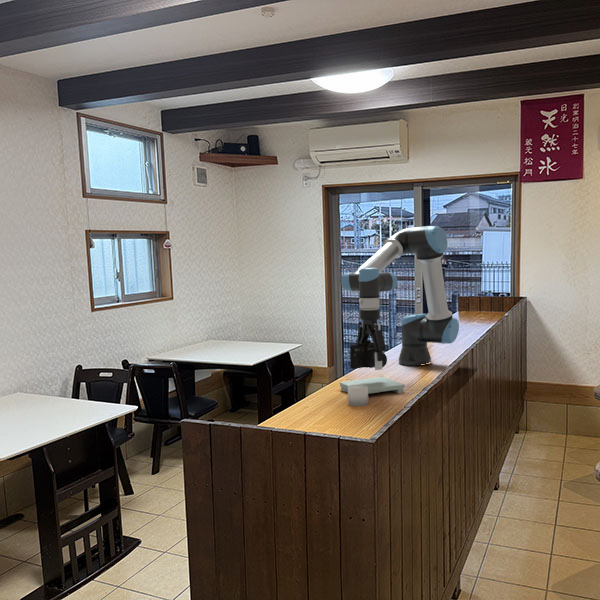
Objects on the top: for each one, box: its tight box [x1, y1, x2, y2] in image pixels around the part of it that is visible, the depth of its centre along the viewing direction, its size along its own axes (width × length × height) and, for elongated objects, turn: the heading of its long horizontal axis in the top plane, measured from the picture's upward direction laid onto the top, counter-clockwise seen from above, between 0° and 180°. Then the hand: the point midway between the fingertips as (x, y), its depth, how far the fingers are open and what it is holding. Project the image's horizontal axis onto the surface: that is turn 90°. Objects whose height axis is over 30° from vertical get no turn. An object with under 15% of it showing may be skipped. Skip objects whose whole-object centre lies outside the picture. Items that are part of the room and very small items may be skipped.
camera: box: [349, 339, 388, 370], centre depth 212 cm, size 14×11×10 cm
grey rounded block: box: [347, 384, 369, 407], centre depth 196 cm, size 7×7×6 cm
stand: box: [339, 376, 406, 395], centre depth 213 cm, size 19×16×3 cm
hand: (371, 367), depth 212 cm, fingers closed on camera, 10 cm apart
